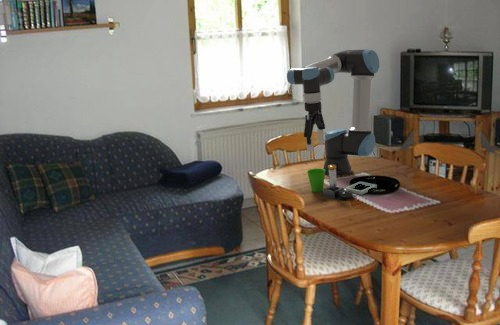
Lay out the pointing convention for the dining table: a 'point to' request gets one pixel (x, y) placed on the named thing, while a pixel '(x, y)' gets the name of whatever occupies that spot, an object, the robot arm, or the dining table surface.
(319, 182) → the cup
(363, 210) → the dining table surface
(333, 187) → the pin
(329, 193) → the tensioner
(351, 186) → the tray
